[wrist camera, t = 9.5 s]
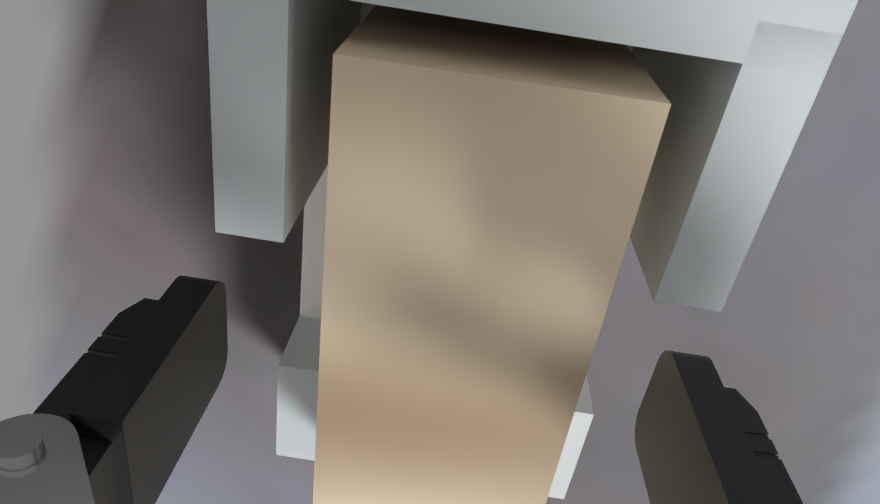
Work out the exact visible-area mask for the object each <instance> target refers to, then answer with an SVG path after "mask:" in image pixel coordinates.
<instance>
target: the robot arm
mask: <svg viewBox="0 0 880 504" xmlns="http://www.w3.org/2000/svg"><path fill="white" fill-rule="evenodd" d="M227 352H228V344H227V314H226V290H225V286H224V284H223V282H220V281H214V280H207V279H200V278H194V277H187V276H179V277H177V278H176V279H175V280H174V282H173V283H172V284H171V285H170V287H169V288H168V289H167V290H166V292H165V293H164V294H163V296H162V297H161V298H160V299H159V300H152V299H146V298H144V299H143V300H141V301H139V302H138V303H136V304H134V305H132V306H131V307H129V308H127V309H125V310H124V311H122V312H120V313H119V314H118V315H117V316H116V317H115V318H114V319H113V321H112V322H111V323H110V324H109V325H108V326H107V328H106V329H105V330H104V331H103V332H102V336H101V337H98V338H97V339H96V340H95V342H94V343H93V344H92V345H91V346H90V347H89V349H88V353H84V354H83V356H82V357H81V358H80V359H79V360H78V361H77V363H76V364H75V365H74V366H73V367H72V368H71V370H70V371H69V372H68V373H67V374H66V375H65V377H64V378H63V379H62V380H61V381H60V382H59V384H58V385H57V386H56V387H55V388H54V389H53V391H52V392H51V393H50V394H49V395H48V396H47V398H46V399H45V400H44V401H43V402H42V403H41V405H40V406H39V407H38V408H37V409H36V410H35V412H34V413H33V414H26V415H20V416H16V417H13V418H9V419H6V420H3V421H1V422H0V504H155V502H156V501H157V499H158V497H159V495H160V493H161V491H162V489H163V488H164V486H165V484H166V482H167V480H168V478H169V476H170V475H171V473H172V471H173V469H174V467H175V465H176V463H177V462H178V460H179V458H180V456H181V454H182V452H183V450H184V449H185V447H186V445H187V443H188V441H189V439H190V437H191V436H192V434H193V432H194V430H195V428H196V426H197V424H198V423H199V421H200V419H201V417H202V415H203V413H204V411H205V410H206V408H207V406H208V404H209V402H210V400H211V398H212V397H213V395H214V393H215V391H216V389H217V387H218V385H219V383H220V381H221V379H222V376H223V373H224V370H225V366H226V360H227ZM768 436H769V434H768V432H767V430H766V428H765V426H764V424H763V422H762V420H761V418H760V416H759V414H758V412H757V411H756V410H755V409H754V408H753V407H752V406H751V405H750V404H749V403H748V402H747V400H746V399H745V398H744V397H743V396H742V395H741V394H740V393H739V392H738V391H737V390H736V389H732V388H725V387H724V386H723V384H722V382H721V380H720V378H719V375H718V373H717V371H716V369H715V367H714V364H713V362H712V361H711V359H710V358H709V357H706V356H700V355H693V354H687V353H680V352H674V351H664V352H663V353H662V354H661V356H660V357H659V360H658V362H657V365H656V367H655V370H654V372H653V375H652V378H651V380H650V383H649V385H648V388H647V390H646V393H645V396H644V398H643V401H642V403H641V406H640V408H639V411H638V414H637V418H636V425H635V444H636V449H637V453H638V457H639V461H640V465H641V469H642V473H643V477H644V481H645V484H646V488H647V492H648V496H649V500H650V504H803V502H802V500H801V498H800V496H799V494H798V492H797V490H796V488H795V486H794V484H793V482H792V480H791V478H790V476H789V474H788V472H787V470H786V468H785V466H784V464H783V462H782V460H780V459H778V455H779V454H778V452H777V450H776V448H775V446H774V444H773V442H772V440H770V439H768Z"/></svg>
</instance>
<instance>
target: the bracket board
mask: <svg viewBox="0 0 880 504" xmlns="http://www.w3.org/2000/svg"><path fill="white" fill-rule="evenodd" d="M857 2H858V0H207V23H208V49H209V75H210V102H211V128H212V154H213V181H214V207H215V232H218V233H224V234H230V235H237V236H243V237H249V238H256V239H262V240H268V241H275V242H281V243H283V242H284V241H285V239H286V237H287V235H288V234H289V232H290V230H291V228H292V227H293V225H294V223H295V221H296V220H297V218H298V216H299V214H300V213H301V211H302V209H303V207H304V221H303V246H302V272H301V297H300V316H299V318H298V321H297V323H296V325H295V328H294V330H293V332H292V334H291V337H290V339H289V341H288V344H287V346H286V348H285V350H284V353H283V355H282V357H281V359H280V362H279V364H278V388H277V440H276V455H282V456H288V457H295V458H301V459H308V460H314V461H315V443H316V421H317V399H318V376H319V354H320V332H321V309H322V287H323V265H324V243H325V220H326V198H327V176H328V153H329V131H330V109H331V86H332V64H333V53H334V52H335V51H336V50H337V49H338V48H339V47H340V45H341V44H342V43H343V42H344V41H345V40H346V39H347V38H348V36H349V35H350V34H351V33H352V32H353V31H354V30H355V29H356V27H357V26H358V25H359V24H360V23H361V22H362V21H363V19H364V18H365V17H366V16H367V15H368V14H369V13H370V12H371V10H372V9H373V8H374V7H375V6H376V5H382V6H388V7H394V8H400V9H406V10H413V11H419V12H425V13H431V14H437V15H444V16H450V17H456V18H462V19H468V20H475V21H481V22H487V23H493V24H499V25H506V26H512V27H518V28H524V29H530V30H537V31H543V32H549V33H555V34H562V35H568V36H574V37H580V38H586V39H593V40H599V41H605V42H611V43H617V44H624V45H627V47H628V48H629V49H630V51H631V52H632V53H633V54H634V56H635V57H636V58H637V60H638V61H639V62H640V64H641V65H642V66H643V67H644V69H645V70H646V71H647V73H648V74H649V75H650V77H651V78H652V79H653V81H654V82H655V83H656V84H657V86H658V87H659V88H660V90H661V91H662V92H663V94H664V95H665V96H666V98H667V99H668V100H669V101H670V103H671V107H670V110H669V113H668V117H667V120H666V123H665V126H664V129H663V132H662V136H661V139H660V142H659V145H658V148H657V152H656V155H655V158H654V161H653V164H652V167H651V171H650V174H649V177H648V180H647V183H646V186H645V190H644V193H643V196H642V199H641V202H640V206H639V209H638V212H637V215H636V218H635V221H634V225H633V228H632V231H631V234H630V238H631V241H632V243H633V246H634V249H635V251H636V254H637V257H638V259H639V262H640V265H641V267H642V270H643V273H644V275H645V278H646V281H647V284H648V286H649V289H650V292H651V294H652V297H653V300H654V301H655V302H661V303H668V304H674V305H680V306H687V307H693V308H699V309H706V310H712V311H718V312H721V311H722V309H723V307H724V304H725V302H726V300H727V298H728V295H729V293H730V291H731V288H732V286H733V284H734V282H735V279H736V277H737V275H738V273H739V270H740V268H741V266H742V263H743V261H744V259H745V257H746V254H747V252H748V250H749V248H750V245H751V243H752V241H753V238H754V236H755V234H756V232H757V229H758V227H759V225H760V222H761V220H762V218H763V216H764V213H765V211H766V209H767V207H768V204H769V202H770V200H771V197H772V195H773V193H774V191H775V188H776V186H777V184H778V182H779V179H780V177H781V175H782V172H783V170H784V168H785V166H786V163H787V161H788V159H789V157H790V154H791V152H792V150H793V147H794V145H795V143H796V141H797V138H798V136H799V134H800V132H801V129H802V127H803V125H804V122H805V120H806V118H807V116H808V113H809V111H810V109H811V107H812V104H813V102H814V100H815V97H816V95H817V93H818V91H819V88H820V86H821V84H822V82H823V79H824V77H825V75H826V72H827V70H828V68H829V66H830V63H831V61H832V59H833V57H834V54H835V52H836V50H837V47H838V45H839V43H840V41H841V38H842V36H843V34H844V32H845V29H846V27H847V25H848V22H849V20H850V18H851V16H852V13H853V11H854V9H855V6H856V4H857ZM593 415H594V413H593V408H592V402H591V397H590V391H589V386H588V380H587V375H586V377H585V380H584V383H583V387H582V390H581V393H580V396H579V399H578V402H577V406H576V409H575V412H574V415H573V418H572V422H571V425H570V428H569V431H568V434H567V437H566V441H565V444H564V447H563V450H562V453H561V456H560V460H559V463H558V466H557V469H556V472H555V476H554V479H553V482H552V485H551V488H550V491H549V495H548V497H553V498H559V499H564V497H565V495H566V492H567V489H568V486H569V483H570V480H571V478H572V475H573V472H574V469H575V466H576V463H577V461H578V458H579V455H580V452H581V449H582V446H583V444H584V441H585V438H586V435H587V432H588V430H589V427H590V424H591V421H592V418H593Z"/></svg>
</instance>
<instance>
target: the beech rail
mask: <svg viewBox="0 0 880 504" xmlns="http://www.w3.org/2000/svg"><path fill="white" fill-rule="evenodd" d="M670 107H671V103H670V101H669V100H668V99H667V98H666V96H665V95H664V94H663V92H662V91H661V90H660V88H659V87H658V86H657V84H656V83H655V82H654V81H653V79H652V78H651V77H650V75H649V74H648V73H647V71H646V70H645V69H644V67H643V66H642V65H641V64H640V62H639V61H638V60H637V58H636V57H635V56H634V54H633V53H632V52H631V51H630V49H629V48H628V47H627V45H624V44H617V43H611V42H605V41H599V40H593V39H586V38H580V37H574V36H568V35H562V34H555V33H549V32H543V31H537V30H530V29H524V28H518V27H512V26H506V25H499V24H493V23H487V22H481V21H475V20H468V19H462V18H456V17H450V16H444V15H437V14H431V13H425V12H419V11H413V10H406V9H400V8H394V7H388V6H382V5H376V6H375V7H374V8H373V9H372V10H371V12H370V13H369V14H368V15H367V16H366V17H365V18H364V19H363V21H362V22H361V23H360V24H359V25H358V26H357V27H356V29H355V30H354V31H353V32H352V33H351V34H350V35H349V36H348V38H347V39H346V40H345V41H344V42H343V43H342V44H341V45H340V47H339V48H338V49H337V50H336V51H335V52H334V53H333V64H332V86H331V109H330V131H329V153H328V176H327V198H326V220H325V243H324V265H323V287H322V309H321V332H320V354H319V376H318V399H317V421H316V443H315V466H314V488H313V504H546V501H547V498H548V495H549V491H550V488H551V485H552V482H553V479H554V476H555V472H556V469H557V466H558V463H559V460H560V456H561V453H562V450H563V447H564V444H565V441H566V437H567V434H568V431H569V428H570V425H571V422H572V418H573V415H574V412H575V409H576V406H577V402H578V399H579V396H580V393H581V390H582V387H583V383H584V380H585V377H586V374H587V371H588V368H589V364H590V361H591V358H592V355H593V352H594V348H595V345H596V342H597V339H598V336H599V333H600V329H601V326H602V323H603V320H604V317H605V314H606V310H607V307H608V304H609V301H610V298H611V294H612V291H613V288H614V285H615V282H616V279H617V275H618V272H619V269H620V266H621V263H622V260H623V256H624V253H625V250H626V247H627V244H628V240H629V237H630V234H631V231H632V228H633V225H634V221H635V218H636V215H637V212H638V209H639V206H640V202H641V199H642V196H643V193H644V190H645V186H646V183H647V180H648V177H649V174H650V171H651V167H652V164H653V161H654V158H655V155H656V152H657V148H658V145H659V142H660V139H661V136H662V132H663V129H664V126H665V123H666V120H667V117H668V113H669V110H670Z"/></svg>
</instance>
